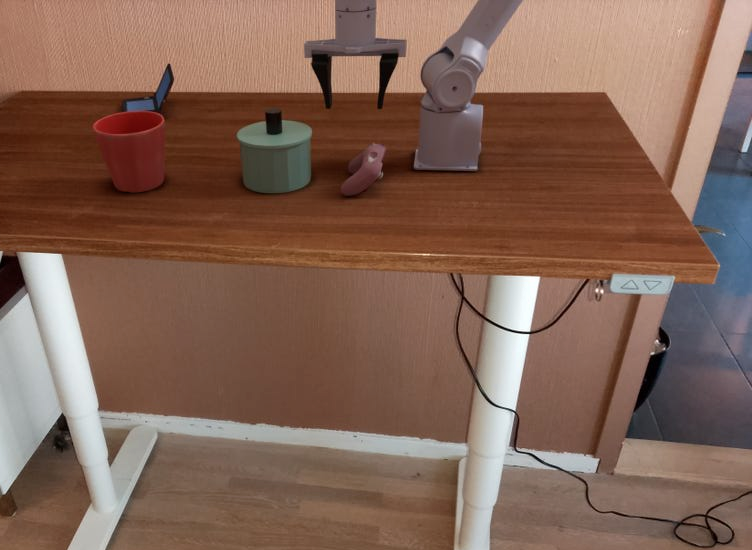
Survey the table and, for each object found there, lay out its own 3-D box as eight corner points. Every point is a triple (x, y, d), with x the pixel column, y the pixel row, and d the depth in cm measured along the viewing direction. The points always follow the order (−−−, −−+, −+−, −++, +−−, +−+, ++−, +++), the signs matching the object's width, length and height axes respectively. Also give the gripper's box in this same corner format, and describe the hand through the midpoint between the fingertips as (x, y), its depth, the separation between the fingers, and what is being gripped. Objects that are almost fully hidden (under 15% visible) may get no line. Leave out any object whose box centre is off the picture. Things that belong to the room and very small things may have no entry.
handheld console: (122, 105, 148) (116, 67, 144) (174, 99, 149) (170, 61, 145) (123, 123, 138) (116, 83, 134) (179, 117, 139) (174, 77, 135)
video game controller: (365, 208, 104) (389, 167, 100) (337, 194, 104) (360, 152, 100) (371, 181, 112) (394, 142, 108) (345, 168, 112) (367, 128, 108)
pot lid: (305, 124, 112) (304, 96, 110) (318, 148, 103) (318, 118, 101) (233, 131, 111) (231, 103, 109) (241, 156, 102) (239, 126, 100)
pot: (304, 164, 116) (302, 121, 112) (316, 189, 107) (315, 143, 103) (240, 171, 115) (236, 128, 111) (247, 196, 106) (243, 151, 102)
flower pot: (117, 203, 107) (104, 139, 101) (96, 179, 115) (84, 119, 109) (183, 187, 111) (175, 124, 105) (158, 165, 119) (149, 105, 113)
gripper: (299, 15, 98) (302, 115, 106) (407, 12, 96) (402, 115, 103) (307, 4, 104) (309, 100, 112) (409, 2, 101) (404, 100, 109)
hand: (354, 107), depth 108 cm, fingers open, 7 cm apart
